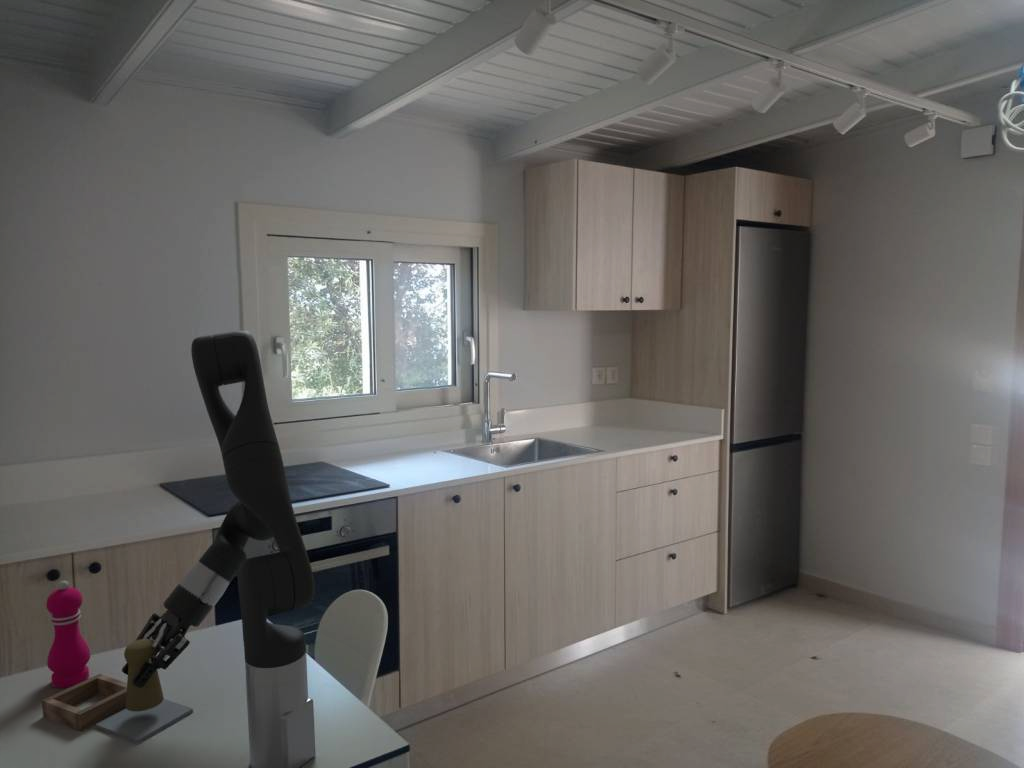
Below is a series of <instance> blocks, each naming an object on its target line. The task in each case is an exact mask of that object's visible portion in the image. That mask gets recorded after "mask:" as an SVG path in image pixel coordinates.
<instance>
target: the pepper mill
mask: <svg viewBox="0 0 1024 768" xmlns="http://www.w3.org/2000/svg"><path fill="white" fill-rule="evenodd" d="M69 584H70V583H69V582H68V581H67V580H61V581H59V583H58V585H57V587H58V589H56V590H53V591H52V592H51V593H50V594H49V596H48V597H47V599H46V604H45V605H46V609H47V611H48V613H50V614H51V615H50V619H51V620H50V624H51V625H52V626H53V628H54V638H53V641H52V645H51V647H50V649H49V652H48V656H47V658H46V659H47V661H46V662H47V663H46V665H47V667H48V670H50V671H51V672H52V674H51V685H52V687H54V688H58V689H64V688H70V687H72V686H74V685H76V684H79V683H81V682H83V681H85V680H87V679H89V677H90V672H89V670H90V669H89V666H88V665H87V664H88V663H89V661H90V659H91V651H90V648H89V645H88V643H87V642H86V641H85V639H84V638H83V636H82V634H81V630H80V627H79V620H80V619H81V617H82V615H81V613H82V612H81V611H82V610H81V609H79V608H81V607H82V604H83V595H82V593H81V591H80V590H79V589H77V588H75V587H71V586H69Z"/></svg>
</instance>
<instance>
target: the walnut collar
mask: <svg viewBox="0 0 1024 768" xmlns="http://www.w3.org/2000/svg"><path fill="white" fill-rule="evenodd" d="M98 694H100V695H102V696H105V698H104V699H101V700H99V701H97V702H95V703H94V704H92V705H89V706H87V707H85V708H83V709H81V708H78V707H76V705H78V704H79V703H82V702H83V701H85V700H88V699H90V698H92V697H94V696H96V695H98ZM126 694H127V681H126V682H125V681H122V680H119V679H116V678H113V677H111V676H107V675H104V674H101V673H98V674H96V675H93V676H92V677H90V678H89V677H88V678H87V680H85V681H83V682H81V683H79V684H76V685H74V686H71V687H67V688H66V689H63V690H61V691H60V692H57V693H55V694H53V695H51V696H49V697H46V698H44V699H42V700H41V706H42V717H43V718H46V719H49V720H51V721H53V722H56V723H59V724H62V725H63V726H66V727H69V728H70V729H74V730H76V731H78V732H83V731H85V730H87V729H88V728H91V727H93V726H94V725H95V724H97V723H99V722H101V721H103V720H105V719H106V718H108V717H110V716H112V715H114V714H116V713H118V712H120V711H122V710H124V709H126ZM95 726H96V725H95Z"/></svg>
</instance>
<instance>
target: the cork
mask: <svg viewBox="0 0 1024 768" xmlns="http://www.w3.org/2000/svg"><path fill="white" fill-rule="evenodd" d="M153 644H154V641H153V640H151V639H144V638H143V639H140V640H137V641H136V640H134V641H132V642H130V643H129V644H128V645H126V647H125V650H124V653H123V655H124V659H125V661H126V662H125V663H128V664H129V666H128V675H127V681H126V683H127V694H126V708H125V709H127V710H129V711H137V712H138V711H145V710H148V709H151V708H154V707H156V706H158V705H159V704H160V703H161V702H162V701H163V699H165V697H164V693H163V688H162V685H161V679H160V675H159V669H156V671H155V672H154V673H153V675H152V676H151V677H150V679H149V680H148V681H147V683H146V684H145V685H144V686H143V687H142V688H139V687H137V686H135V685H133V684H132V682H131V680H132V679H133V677H134V676H135V675H136V674H137V672H138V671H139V670H140V668H141V667H142V666H143V665H144V663H145V662H146V663H147V660H148V658H149V656H150V655H151V653H152V651H153V650H152V645H153Z"/></svg>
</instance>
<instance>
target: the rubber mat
mask: <svg viewBox="0 0 1024 768" xmlns="http://www.w3.org/2000/svg"><path fill="white" fill-rule="evenodd" d="M193 712H194V709H193V708H192V707H189V706H187V705H183V704H180V703H178V702H174V701H171V700H168V699H165V698H164V699H163V701H162V702H161V703H160V704H159V705H158V706H156V707H154V708H151V709H148V710H145V711H138V712H137V711H129V710H127V709H126V708H125V709H123V710H121V711H119V712H118V713H116V714H114V715H112V716H110V717H108V718H106V719H104V720H102V721H100V722H98V723H96V724H95V729H98V730H101V731H104V732H107V733H109V734H111V735H114V736H117V737H119V738H122V739H124V740H127V741H130V742H133V743H135V744H137V745H138V744H139V743H142V742H143V741H145V740H146V739H148V738H150V737H152V736H154V735H156V734H157V733H159V732H160V731H162V730H164V729H165V728H167V727H170V726H171V725H173V724H174V723H176V722H178V721H179V720H182V719H183V718H185V717H186V716H188V715H190V714H192V713H193Z"/></svg>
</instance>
